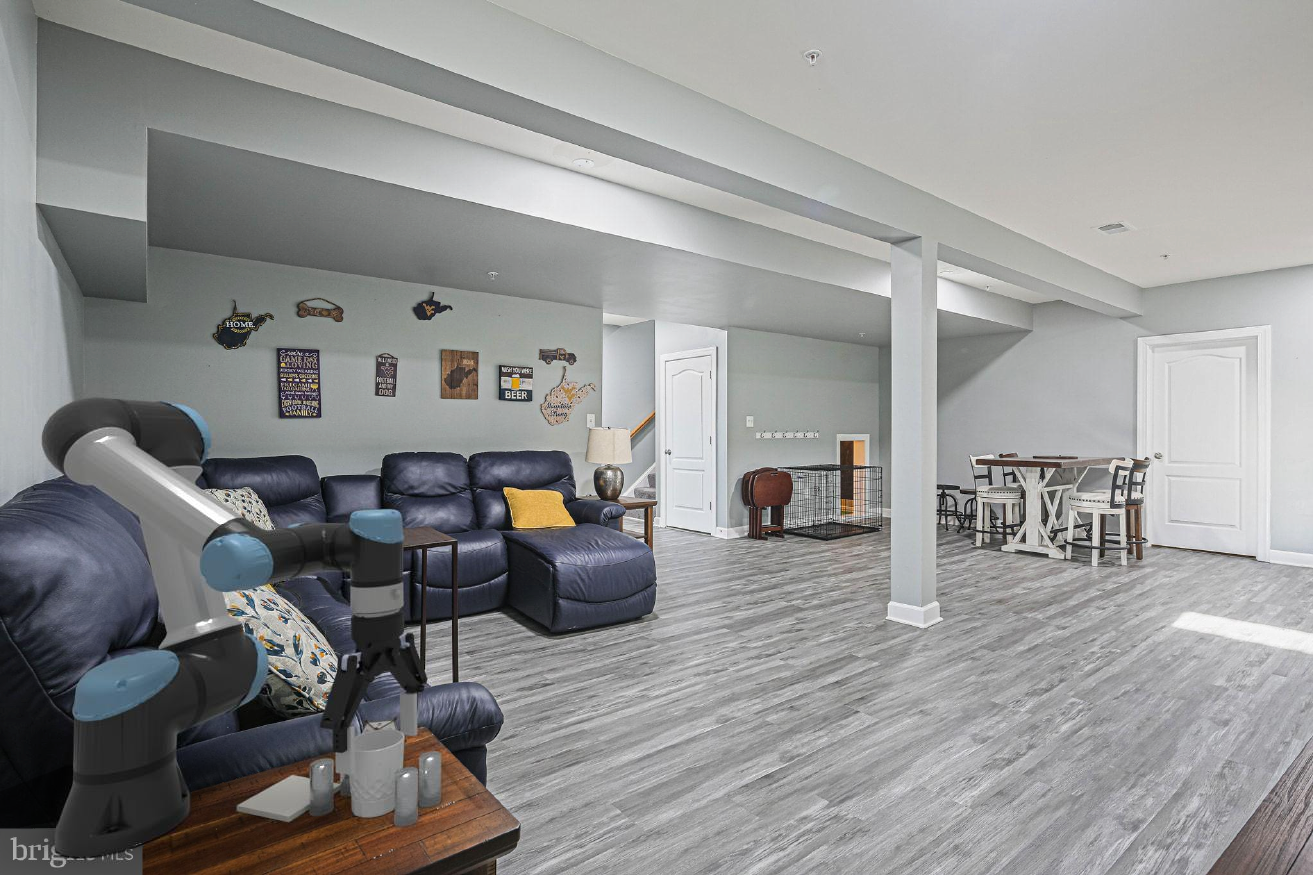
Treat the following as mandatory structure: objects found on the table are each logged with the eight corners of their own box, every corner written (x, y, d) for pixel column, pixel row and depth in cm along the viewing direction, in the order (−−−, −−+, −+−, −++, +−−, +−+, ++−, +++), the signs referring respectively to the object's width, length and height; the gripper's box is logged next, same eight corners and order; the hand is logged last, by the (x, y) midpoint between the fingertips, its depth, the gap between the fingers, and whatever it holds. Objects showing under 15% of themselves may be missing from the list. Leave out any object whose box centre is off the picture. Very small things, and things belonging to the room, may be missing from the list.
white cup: (383, 823, 96) (384, 753, 97) (335, 817, 98) (336, 748, 98) (414, 795, 104) (414, 731, 104) (369, 790, 106) (369, 727, 106)
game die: (366, 790, 113) (338, 738, 115) (412, 757, 119) (384, 708, 121) (373, 783, 107) (342, 728, 109) (421, 749, 112) (391, 697, 114)
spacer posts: (304, 814, 99) (304, 766, 99) (355, 781, 108) (355, 738, 109) (400, 834, 93) (401, 783, 94) (445, 798, 103) (445, 752, 103)
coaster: (236, 810, 100) (236, 805, 100) (292, 779, 109) (292, 774, 109) (288, 822, 97) (288, 816, 97) (341, 789, 106) (341, 784, 106)
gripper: (334, 633, 89) (335, 795, 88) (448, 595, 112) (450, 722, 112) (290, 630, 91) (291, 788, 90) (411, 593, 115) (412, 718, 114)
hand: (379, 752), depth 101 cm, fingers open, 13 cm apart
